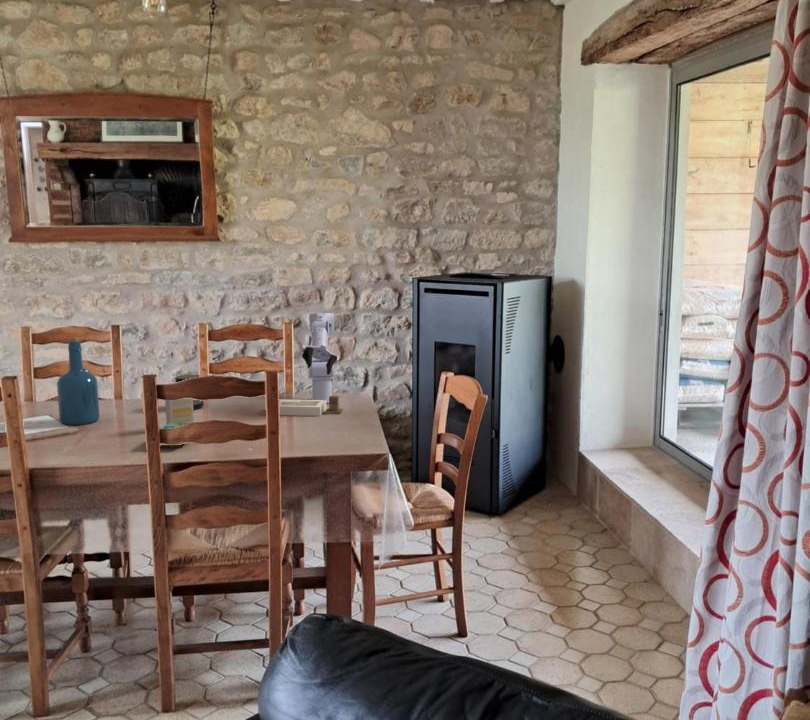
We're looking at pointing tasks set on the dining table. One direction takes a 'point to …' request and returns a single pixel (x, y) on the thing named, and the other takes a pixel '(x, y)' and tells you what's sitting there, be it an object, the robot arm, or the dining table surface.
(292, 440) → the dining table surface
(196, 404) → the supplement container
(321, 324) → the robot arm
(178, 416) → the supplement box
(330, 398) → the keyhole slider
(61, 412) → the wine bottle
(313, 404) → the cream rectangular tray
